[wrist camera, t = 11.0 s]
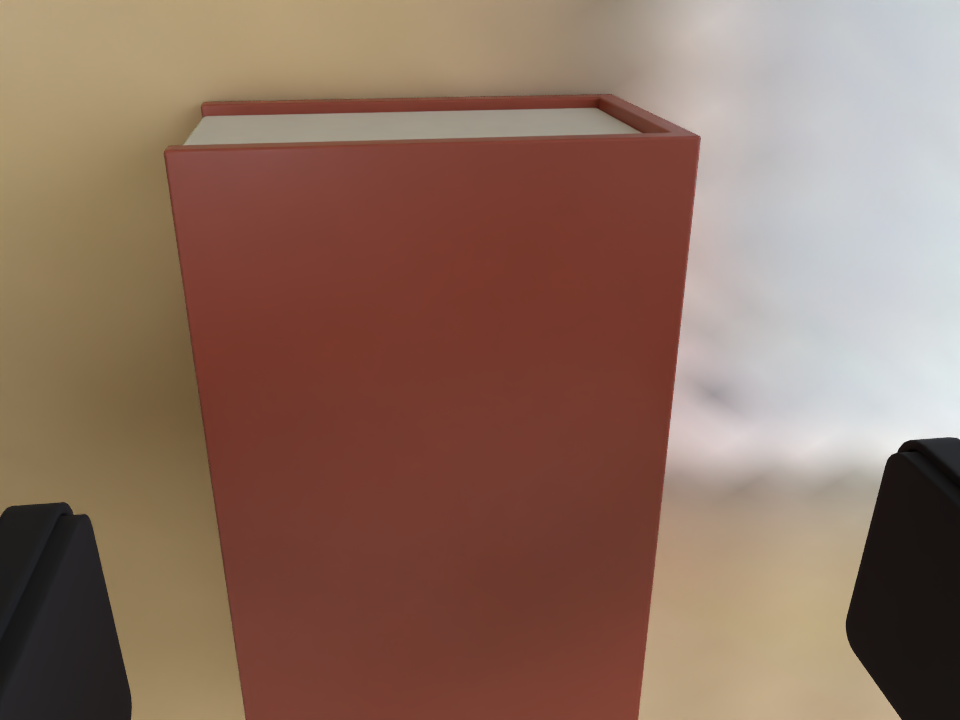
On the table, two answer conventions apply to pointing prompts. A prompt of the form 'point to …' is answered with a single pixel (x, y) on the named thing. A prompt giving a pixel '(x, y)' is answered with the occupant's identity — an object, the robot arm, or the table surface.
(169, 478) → the table surface
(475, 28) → the table surface
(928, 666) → the robot arm
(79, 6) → the table surface
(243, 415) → the pocket book
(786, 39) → the table surface
